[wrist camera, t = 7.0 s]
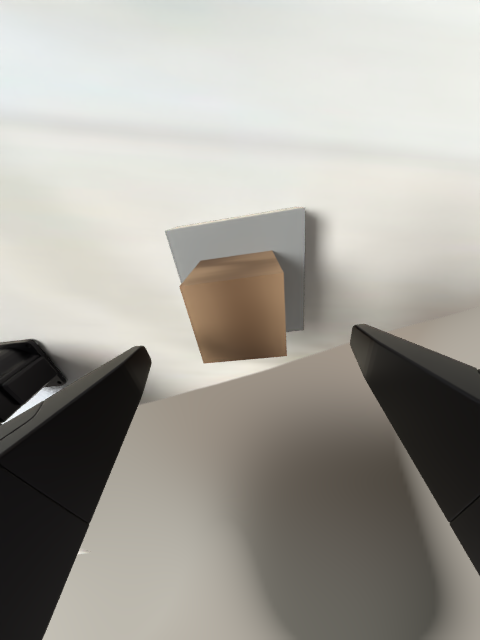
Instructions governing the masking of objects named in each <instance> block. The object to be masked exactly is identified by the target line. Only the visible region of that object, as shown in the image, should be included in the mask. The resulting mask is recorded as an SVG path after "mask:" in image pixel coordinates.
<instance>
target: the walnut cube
mask: <svg viewBox="0 0 480 640" xmlns="http://www.w3.org/2000/svg"><path fill="white" fill-rule="evenodd" d="M179 287H180V290H181V293H182V296H183V299H184V302H185V306H186V309H187V312H188V315H189V318H190V321H191V325H192V328H193V331H194V334H195V337H196V340H197V344H198V347H199V350H200V353H201V356H202V359H203V363H213V362H225V361H236V360H247V359H258V358H270V357H281V356H287V350H286V323H285V296H284V272H283V271H282V269H281V267H280V265H279V263H278V261H277V259H276V257H275V255H274V253H273V251H272V250H271V251H264V252H257V253H250V254H243V255H236V256H229V257H223V258H216V259H209V260H202V261H200V262H199V263H198V264H197V266H196V267H195V268H194V269H193V270H192V272H191V273H190V274H189V275H188V277H187V278H186V279H185V280H184V281H183V283H182V284H181V285H180V286H179Z"/></svg>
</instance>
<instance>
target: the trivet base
mask: <svg viewBox="0 0 480 640" xmlns="http://www.w3.org/2000/svg"><path fill="white" fill-rule="evenodd" d="M165 233H166V236H167V239H168V242H169V246H170V249H171V252H172V255H173V258H174V262H175V265H176V268H177V271H178V274H179V277H180V281H181V284H182V283H183V281H184V280H185V279H186V278H187V277H188V275H189V274H190V273H191V272H192V270H193V269H194V268H195V267H196V266H197V264H198V263H199V262H200V261H202V260H209V259H216V258H223V257H229V256H236V255H243V254H250V253H257V252H264V251H271V250H272V251H273V253H274V255H275V257H276V259H277V261H278V263H279V265H280V267H281V269H282V271H283V272H284V296H285V323H286V332H289V331H299V330H304V257H305V207H292V208H286V209H280V210H274V211H268V212H262V213H256V214H250V215H244V216H238V217H232V218H226V219H221V220H215V221H209V222H203V223H197V224H191V225H185V226H179V227H175V228H172V229H169V230H166V231H165Z"/></svg>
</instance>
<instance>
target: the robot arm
mask: <svg viewBox="0 0 480 640" xmlns="http://www.w3.org/2000/svg"><path fill="white" fill-rule="evenodd" d="M350 345H351V348H352V351H353V353H354V355H355V357H356V359H357V362H358V364H359V367H360V369H361V371H362V373H363V376H364V378H365V380H366V381H367V383H368V385H369V387H370V388H371V390H372V392H373V394H374V395H375V397H376V399H377V400H378V402H379V404H380V406H381V407H382V409H383V411H384V412H385V414H386V416H387V418H388V419H389V421H390V423H391V424H392V426H393V428H394V430H395V431H396V433H397V435H398V436H399V438H400V440H401V442H402V443H403V445H404V447H405V448H406V450H407V452H408V454H409V455H410V457H411V459H412V460H413V462H414V464H415V465H416V467H417V469H418V471H419V472H420V474H421V476H422V478H423V479H424V481H425V483H426V484H427V486H428V488H429V490H430V491H431V493H432V494H433V496H434V498H435V500H436V501H437V503H438V505H439V507H440V508H441V510H442V512H443V513H444V515H445V517H446V518H447V520H448V522H450V526H451V527H452V529H453V531H454V533H455V534H456V536H457V538H458V539H459V541H460V543H461V545H462V546H463V548H464V550H465V551H466V553H467V555H468V557H469V558H470V560H471V562H472V563H473V565H474V567H475V569H476V570H477V572H478V573H479V575H480V369H478V370H477V369H476V368H475V367H472V366H470V365H467V364H465V363H462V362H460V361H457V360H455V359H452V358H450V357H447V356H445V355H442V354H439V353H437V352H434V351H432V350H429V349H427V348H424V347H422V346H419V345H417V344H414V343H412V342H409V341H407V340H404V339H402V338H399V337H396V336H394V335H392V334H389V333H387V332H384V331H381V330H379V329H376V328H374V327H371V326H369V325H366V324H359V325H354V326H353V328H352V334H351V339H350ZM150 367H151V358H150V356H149V354H148V352H147V350H146V348H145V347H144V346H135V347H132V348H131V349H129V350H127V351H126V352H124V353H122V354H121V355H119V356H117V357H116V358H114V359H112V360H111V361H109V362H107V363H106V364H104V365H102V366H101V367H99V368H97V369H96V370H94V371H92V372H91V373H89V374H87V375H86V376H84V377H82V378H81V379H79V380H77V381H75V382H74V383H72V384H70V385H69V386H67V387H65V388H64V389H62V390H60V391H59V392H57V393H55V394H54V395H52V396H50V397H49V398H47V399H46V400H45V401H42V402H40V403H39V404H37V405H35V406H34V407H32V408H30V409H28V410H27V411H25V412H23V413H22V414H20V415H18V416H16V417H15V418H13V419H11V420H10V421H8V422H6V423H4V424H1V423H2V422H5V421H6V420H7V419H8V418H9V417H10V416H12V415H13V414H14V413H15V412H16V411H17V410H18V409H19V408H20V407H21V406H23V405H24V404H26V403H27V402H28V401H29V400H30V399H31V398H32V397H33V396H34V395H36V394H37V393H38V392H39V391H40V390H41V389H42V388H43V387H50V386H62V385H64V384H65V383H66V379H65V378H64V377H63V376H62V374H61V373H60V372H59V371H58V370H57V368H56V367H55V366H54V365H53V363H52V362H51V361H50V360H49V359H48V357H47V356H46V355H45V354H44V352H43V351H42V350H41V349H40V348H39V346H38V345H37V344H36V343H35V342H34V341H32V340H21V341H12V342H3V343H0V640H42V639H43V636H44V634H45V632H46V630H47V627H48V625H49V622H50V620H51V617H52V615H53V612H54V610H55V607H56V605H57V603H58V600H59V598H60V595H61V593H62V590H63V588H64V585H65V583H66V581H67V578H68V576H69V573H70V571H71V568H72V566H73V564H74V561H75V559H76V556H77V554H78V551H79V549H80V546H81V544H82V542H83V539H84V537H85V534H86V532H87V529H88V527H89V523H90V521H91V519H92V517H93V514H94V512H95V509H96V507H97V504H98V502H99V500H100V497H101V495H102V492H103V490H104V487H105V485H106V482H107V480H108V478H109V475H110V473H111V470H112V468H113V465H114V463H115V460H116V458H117V456H118V453H119V451H120V448H121V446H122V443H123V441H124V438H125V436H126V434H127V431H128V429H129V426H130V424H131V421H132V419H133V417H134V414H135V411H136V409H137V407H138V404H139V402H140V399H141V397H142V394H143V391H144V388H145V384H146V381H147V378H148V374H149V371H150Z"/></svg>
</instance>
